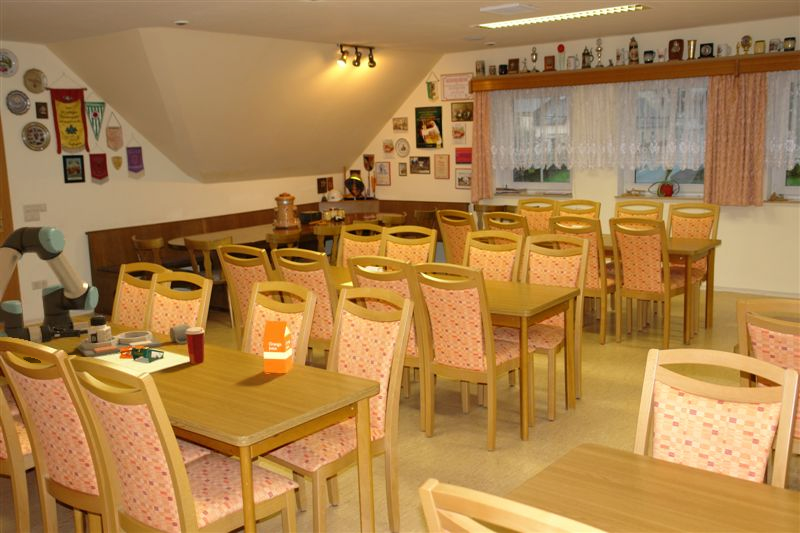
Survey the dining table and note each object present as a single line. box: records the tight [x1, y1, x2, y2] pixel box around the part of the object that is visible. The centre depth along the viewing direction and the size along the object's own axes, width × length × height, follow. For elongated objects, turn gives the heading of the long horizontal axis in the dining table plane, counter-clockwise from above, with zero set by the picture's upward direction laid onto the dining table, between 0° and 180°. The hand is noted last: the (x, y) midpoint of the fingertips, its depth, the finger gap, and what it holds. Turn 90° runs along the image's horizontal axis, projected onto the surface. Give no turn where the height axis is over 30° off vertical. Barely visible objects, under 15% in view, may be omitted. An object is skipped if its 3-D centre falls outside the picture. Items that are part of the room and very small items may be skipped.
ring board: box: [76, 330, 163, 358], centre depth 347 cm, size 22×32×4 cm
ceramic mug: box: [169, 323, 190, 345], centre depth 353 cm, size 11×8×8 cm
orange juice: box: [262, 320, 293, 373], centre depth 301 cm, size 8×9×20 cm
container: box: [86, 315, 112, 343], centre depth 344 cm, size 8×8×13 cm
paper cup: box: [185, 326, 206, 365], centre depth 317 cm, size 8×8×14 cm
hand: (92, 327), depth 342 cm, fingers open, 13 cm apart
